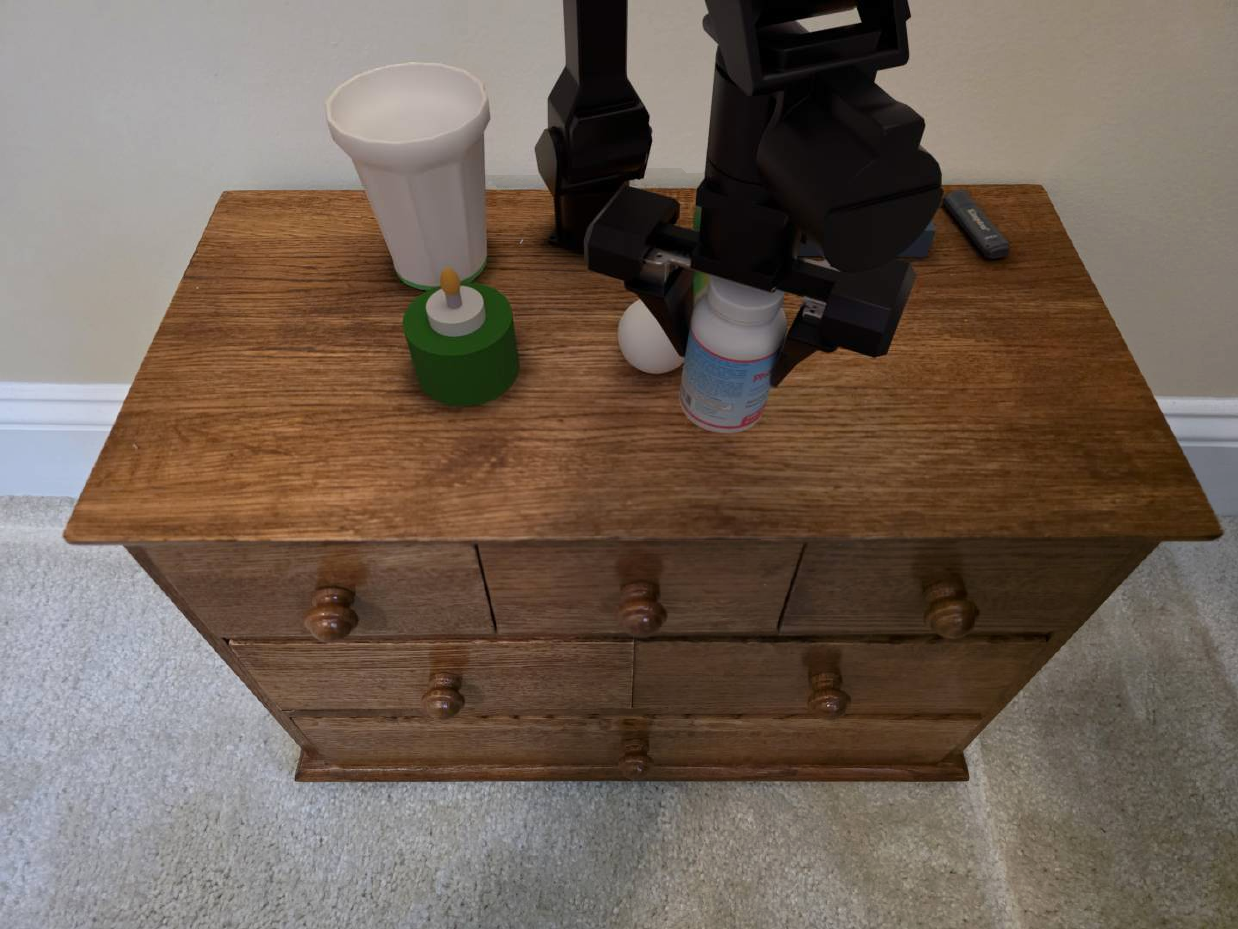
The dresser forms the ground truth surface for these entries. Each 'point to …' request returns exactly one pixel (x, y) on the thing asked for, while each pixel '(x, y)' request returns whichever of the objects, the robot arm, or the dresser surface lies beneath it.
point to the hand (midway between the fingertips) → (729, 367)
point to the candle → (462, 342)
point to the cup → (419, 163)
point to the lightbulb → (646, 341)
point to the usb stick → (976, 224)
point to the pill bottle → (731, 355)
